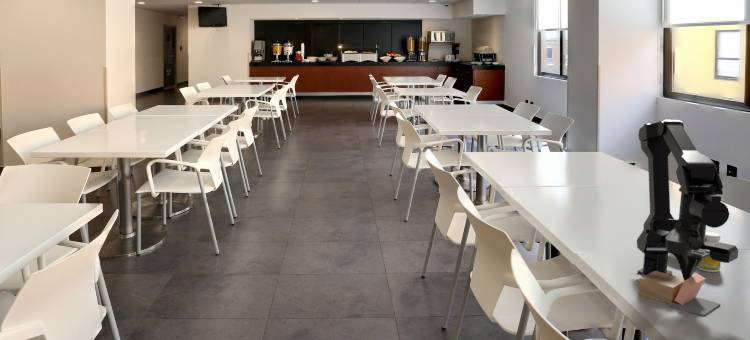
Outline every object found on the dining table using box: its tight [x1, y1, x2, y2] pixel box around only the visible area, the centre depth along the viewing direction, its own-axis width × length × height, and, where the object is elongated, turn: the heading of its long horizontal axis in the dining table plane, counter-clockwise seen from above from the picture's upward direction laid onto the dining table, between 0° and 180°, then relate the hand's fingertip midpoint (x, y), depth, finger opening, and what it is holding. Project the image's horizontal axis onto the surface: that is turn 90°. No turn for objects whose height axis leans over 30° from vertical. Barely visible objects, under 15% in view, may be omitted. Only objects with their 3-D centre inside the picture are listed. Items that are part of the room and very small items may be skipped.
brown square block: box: [637, 271, 684, 305], centre depth 155 cm, size 8×8×4 cm
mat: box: [669, 296, 721, 317], centre depth 149 cm, size 9×8×1 cm
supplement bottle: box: [697, 231, 722, 273], centre depth 172 cm, size 5×5×10 cm
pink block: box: [675, 273, 706, 305], centre depth 150 cm, size 7×6×2 cm
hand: (686, 280), depth 150 cm, fingers closed
